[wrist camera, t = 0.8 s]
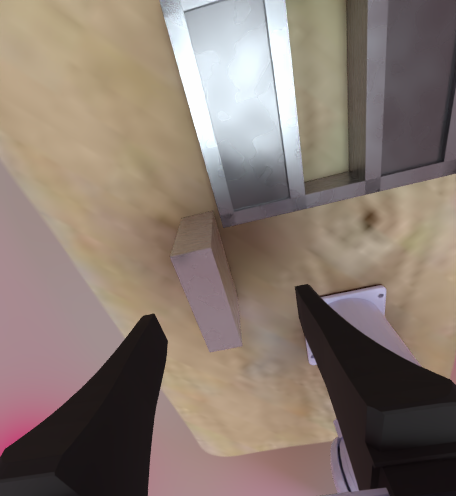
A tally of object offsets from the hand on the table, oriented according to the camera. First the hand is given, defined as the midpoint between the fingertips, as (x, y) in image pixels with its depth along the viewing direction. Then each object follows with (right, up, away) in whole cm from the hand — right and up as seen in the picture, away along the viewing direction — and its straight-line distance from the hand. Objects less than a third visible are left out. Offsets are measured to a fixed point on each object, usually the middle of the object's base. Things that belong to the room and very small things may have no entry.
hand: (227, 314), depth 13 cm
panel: (-1, +2, +10) cm, 11 cm away
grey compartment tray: (+6, +13, +4) cm, 15 cm away
